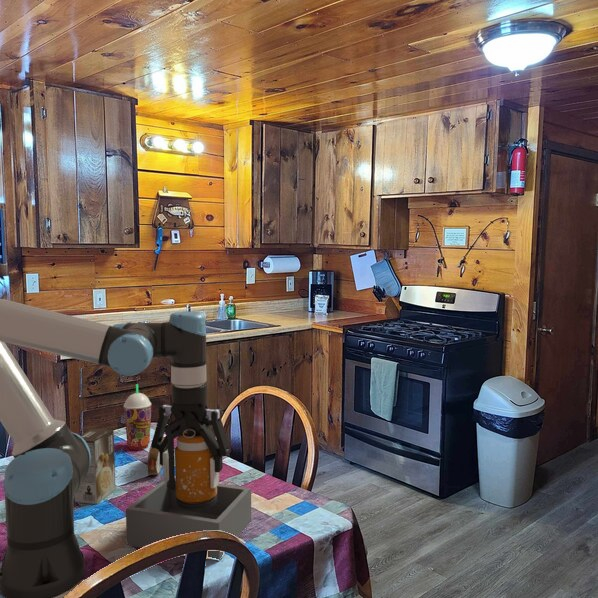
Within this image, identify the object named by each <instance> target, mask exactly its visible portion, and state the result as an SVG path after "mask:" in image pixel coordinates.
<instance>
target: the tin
mask: <svg viewBox="0 0 598 598" xmlns="http://www.w3.org/2000/svg"><path fill="white" fill-rule="evenodd" d="M164 438H165V436H163V439H162V441H163V440H164ZM146 467H147V472H146V473H147V475H148V476H158V475H159V474H160V472H161V470H163V466H162V465H160V453H159V450H158V449H156V448H154V449H153V448H152V447H151V446H150V448H149V451H148V456H147V465H146Z"/></svg>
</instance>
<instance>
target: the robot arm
mask: <svg viewBox="0 0 598 598" xmlns="http://www.w3.org/2000/svg"><path fill="white" fill-rule="evenodd" d="M7 344H12V345H16V346H18V347H19V346H20V347H23V348H27V349H31V350H32V349H33V350H37V351H40V352H46V353H48V354H54V355H57V356H63V357H66V358H72V359H75V360H78V361H79V360H80V361H83V362H88V363H93V364H97V365H101V366H104V367H108V368H111V369H112V370H113V371H114V372H116V373H117V374H119V375H121V376H125V377H132V376H133V377H134V376H136V375H138V374H140V373H142V372H143V371H144V370H146V369H147V367H149V365H150V364H151V362H152V360H153V359H157V358H158V359H159V358H166V359H167V358H170V373H171V374H170V383H171V384H172V386H171V402H172V403H171V405H169V404H168V403H165V404H163V405H161V406H159V408H158V420H157V423H156V426H155V431H154V434H153V437H152V440H151V442H150V443H151V445H150V447H152V448H153V449H154V448H156V449H158V450H159V453H160V465H162V466H163V467H162V479H163V480H162V481H163V482H167V481H168V480H169V458H168V438H167V436H166V435H165V431H164V429H165V426H166V425H168V421H169V418H170V415H171V414H172V415H173V417H174V419H173V421H174V422H173V423H175V422H176V421H178V420H179V422H180V421H181V419H182V418H184V419H185V425H187V426H189V427H191V428H196V429H197V431H198V432H200V434H201V436H202V437H203V439H204V441H205V443H206V444H207V446H208V448H209V450H210V451H211V453H212V455H213V457H211V458H210V479H211V488H215V487H216V486H217V485H218V484H220V472H222V470H223V458H224V457H226V456H227V455H228V454H230V453H231V451H232V449H231V445H230V443H229V440H228V436H227V433H226V430H225V427H224V424H223V421H222V410H221V409H220V408H215V409H210V408H209V407H208V404H207V402H208V385H207V384H206V382H207V379H208V378H207V329H206V317H205V315H204V314H203V313H202V312H199V311H175V312H172V313H171V314H170V315H169V319H168V321H165V322H131V321H130V322H126V323H125V322H123V323H115V324H114V325H112V326H111V325H110V324H105V323H101V322H96V321H93V320H88V319H85V318H81V317H77V316H72V315H68V314H65V313H61V312H56V311H52V310H50V309H46V308H45V309H44V308H41V307H36V306H32V305H28V304H24V303H20V302H16V301H12V300H9V299H4V298H0V423H1V424H2V426H3V427H4V429H5V431H6V432H7V434H8V435H9V437H10V438H11V440H12V441H13V448H12V452H11V456H12V457H13V458H14V459H12V460H11V461H10V462H9V463H8V465H7V466H6V468H5V471H4V479H3V486H2V487H3V491H4V504H5V508H4V509H5V523H6V544H7V545H6V549H5V552H4V556H3V558H2V563H1V567H0V594H1V595H2V596H3V597H4V598H53V597H55V596H58V595H60V594H62V593H64V592H67V591H68V590H70V589H71V588H73V587H74V586H76V585H77V584H78V583H79V582H81V580H82V579H83V577H84V576H85V573H86V559H85V555H84V553H83V551H82V550H81V549H80V544H79V542H78V539H77V536H76V533H75V518H74V517H75V516H74V500H75V494H76V493H77V491H78V489H79V487H80V485H81V483H82V482H83V480H84V479H85V477H86V475H87V473H88V470H89V467H90V461H91V454H90V449H89V447H88V444H87V443H86V441H85V440H84V439H83V438H82V437H81V436H80V434H78V433H75V432H73V431H71V429H70V428H69V427H68V425H67V423H66V422H65V421H64V420H60V419H55V418H54V417H53V416H52V415H51V413H50V411H49V410H48V408H47V406H46V404H44V402H43V400H42V399H41V397H40V395H39V394H38V392H37V391H36V389H35V387H34V386H33V385H32V383H31V381H30V380H29V378H28V376H27V375H26V374H25V372H24V370H23V369H22V367H21V365H19V362H18V361H17V359H16V358H15V356H14V355H13V353H12V352H11V349H10V348H9V347H8V346H7ZM206 416H207V417H209V419H210V420H211V423H212V424H211V426H212V429H211V428H210V425H208V424H207V423H205V424H204V425H201V423H202V422H203V420H204V419H205V417H206ZM173 423H172V424H173ZM179 427H180V425H179V426H177V427H176V428H174V429H173V430H172V431H170V433H171V434H172V433H174V432H176V431H177V430H178V428H179ZM212 430H213V431H212ZM213 432H214V433H213ZM164 435H165V436H164ZM163 437H165V438H164V440H163V441H162V439H163Z"/></svg>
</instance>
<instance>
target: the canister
mask: <svg viewBox="0 0 598 598" xmlns="http://www.w3.org/2000/svg"><path fill="white" fill-rule="evenodd" d="M173 422H174V420H173V421H171V422H170V423H167V425H166V426H165V429H164V431H165V433H164V435H165V436H167V438H168V458H169V480H168V482H167V487H168V488H169V489H171V490H173V491H175V479H176V504H177V506H178V507H180V508H182V509H186V510H202V509H205V508H208V507H211V506H213V505H214V504H215V503H216V502H217V486H216V487H215V488H211V479H210V458H211V457H213V455H212V453H211V451H210V450H209V448H208V446H207V444H206V443H205V441H204V439H203V437H202V436H201V434H200V432H198V431H197V429H196V428H191V427H189V426H187V425H185V419H184V418H182V419H181V421H180V422H179V420H178V421H176V422H175V423H173ZM172 423H173V424H172ZM205 423H207V424H208V425H209V426H212V423H211V420H210V419H209V416H208V415H207V416H206V417H205V419H204V420H203V422H202V423H201V425H204V424H205ZM179 425H180V427H179V428H178V430H177V431H176V432H174V433H172V434H171V433H170V431H172V430H173V429H174V428H176V427H177V426H179ZM175 439H176V447H175Z"/></svg>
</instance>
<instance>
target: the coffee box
mask: <svg viewBox="0 0 598 598" xmlns="http://www.w3.org/2000/svg"><path fill="white" fill-rule="evenodd" d="M114 431H115V430H114V429H105V428H90V429H89V430H87V431H86V432H85V431H84V433H81V434H79V436H81V437H82V438H83V439H84V440H85V441H86V443H87V444H88V447H89V449H90V454H91V461H90V467H89V470H88V473H87V475H86V477H85V479H84V480H83V482H82V483H81V485H80V487H79V489H78V491H77V493H76V494H75V496H74V502H75V503H81V504H92V505H98V504H99V503H101V502H102V501H103V500H104V499H106V498H107V497H108V496H109V495H110V494H111V493H113V492H114V491H115V490H116V488H117V487H116V463H115V462H116V461H115V457H116V455H115V436H114V435H115V434H114Z"/></svg>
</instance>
